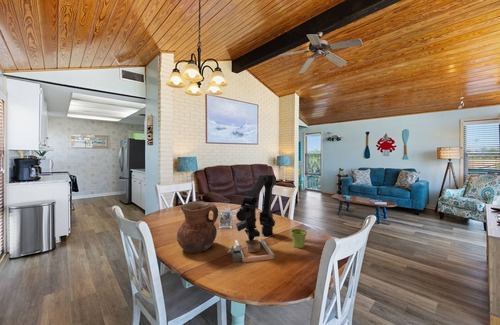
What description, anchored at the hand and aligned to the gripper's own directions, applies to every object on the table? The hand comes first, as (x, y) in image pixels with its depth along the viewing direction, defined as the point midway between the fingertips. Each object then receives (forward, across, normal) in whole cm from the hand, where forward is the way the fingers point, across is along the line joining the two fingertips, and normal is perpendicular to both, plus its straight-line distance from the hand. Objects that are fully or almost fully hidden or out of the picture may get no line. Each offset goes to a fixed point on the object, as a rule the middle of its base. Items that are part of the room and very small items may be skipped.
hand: (250, 243), depth 125 cm
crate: (+2, +5, 0) cm, 5 cm away
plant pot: (+2, +6, +27) cm, 28 cm away
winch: (+2, +14, -12) cm, 18 cm away
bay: (+2, +6, 0) cm, 6 cm away
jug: (+2, -4, -30) cm, 30 cm away
